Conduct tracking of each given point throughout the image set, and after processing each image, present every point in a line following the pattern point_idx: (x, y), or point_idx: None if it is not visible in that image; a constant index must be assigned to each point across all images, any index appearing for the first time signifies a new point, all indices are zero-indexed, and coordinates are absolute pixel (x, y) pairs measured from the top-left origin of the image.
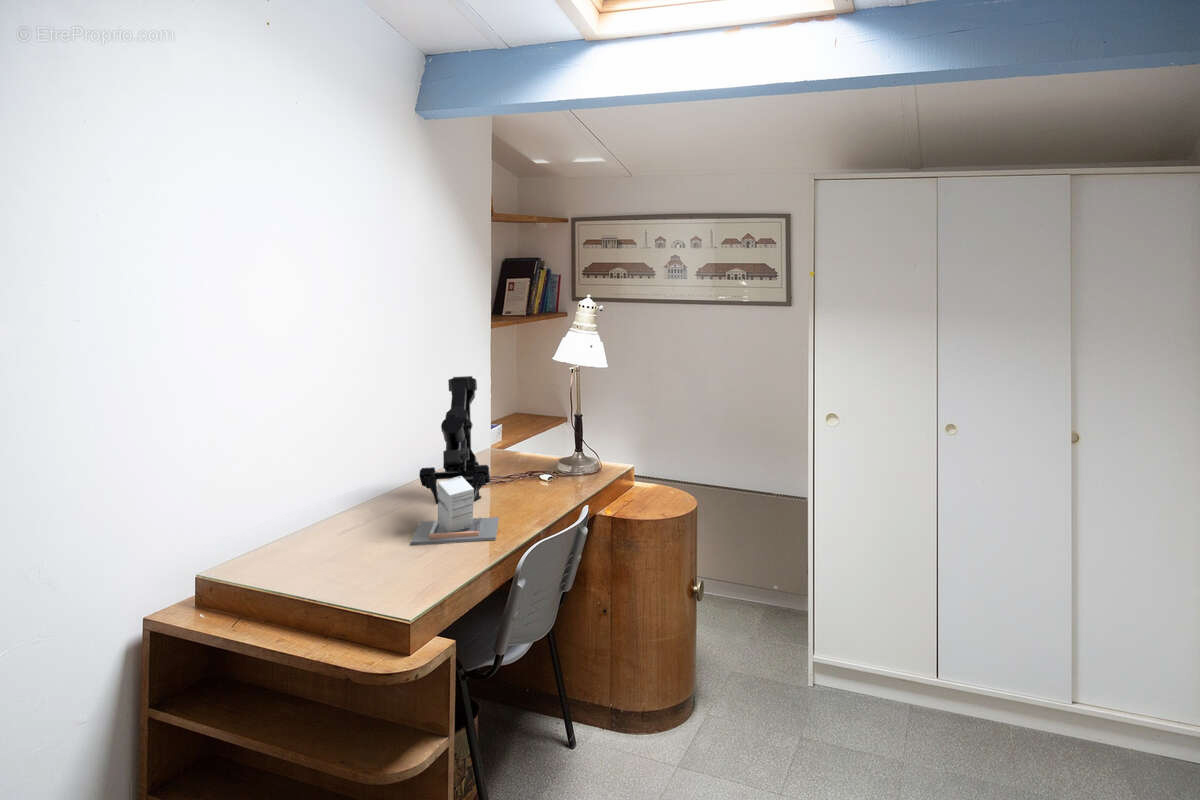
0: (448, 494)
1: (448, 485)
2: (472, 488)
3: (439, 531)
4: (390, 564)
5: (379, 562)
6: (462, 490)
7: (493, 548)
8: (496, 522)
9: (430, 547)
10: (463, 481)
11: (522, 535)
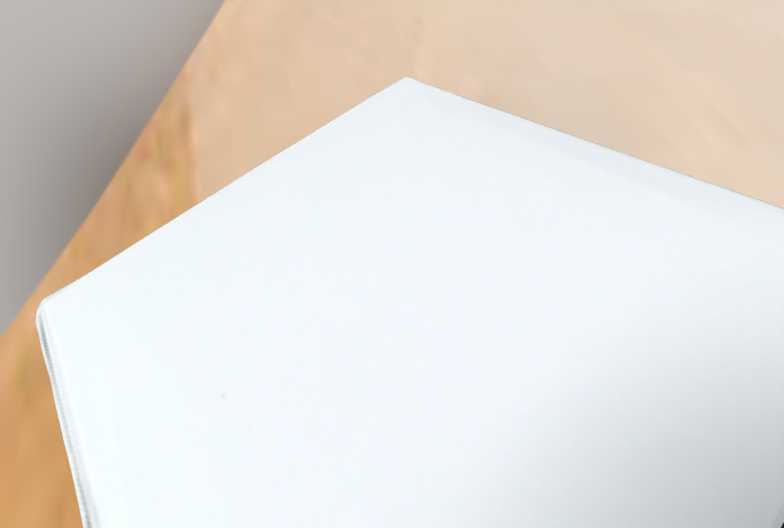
0: (435, 91)
1: (540, 214)
2: (57, 303)
3: None
4: (562, 37)
5: (618, 51)
6: (240, 190)
7: (176, 197)
8: None
9: None
10: (200, 507)
11: (9, 398)
